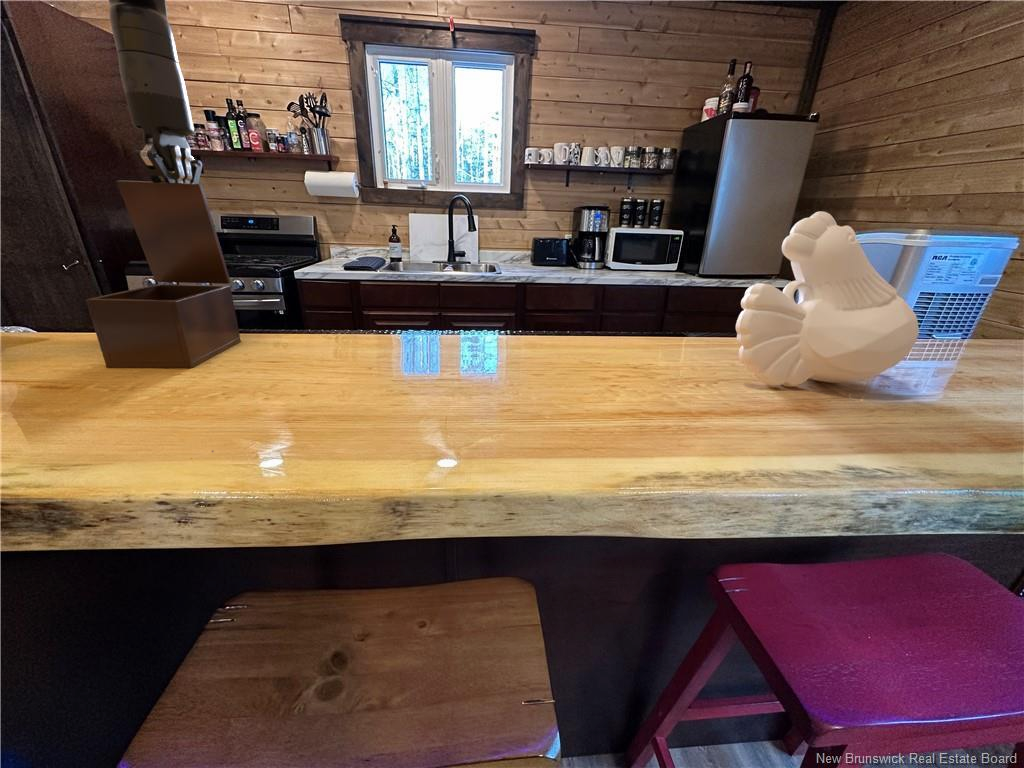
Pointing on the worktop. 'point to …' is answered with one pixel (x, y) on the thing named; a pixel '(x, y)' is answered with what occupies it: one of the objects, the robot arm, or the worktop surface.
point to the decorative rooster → (824, 313)
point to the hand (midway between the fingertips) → (184, 219)
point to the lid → (175, 231)
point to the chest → (164, 325)
